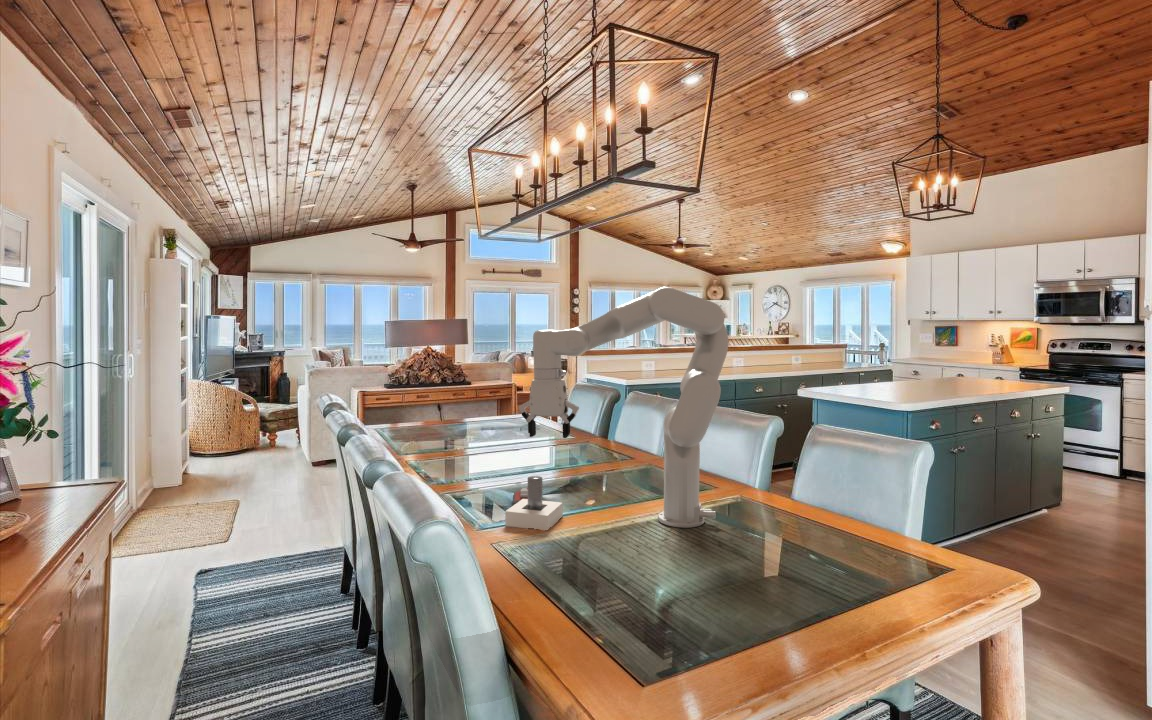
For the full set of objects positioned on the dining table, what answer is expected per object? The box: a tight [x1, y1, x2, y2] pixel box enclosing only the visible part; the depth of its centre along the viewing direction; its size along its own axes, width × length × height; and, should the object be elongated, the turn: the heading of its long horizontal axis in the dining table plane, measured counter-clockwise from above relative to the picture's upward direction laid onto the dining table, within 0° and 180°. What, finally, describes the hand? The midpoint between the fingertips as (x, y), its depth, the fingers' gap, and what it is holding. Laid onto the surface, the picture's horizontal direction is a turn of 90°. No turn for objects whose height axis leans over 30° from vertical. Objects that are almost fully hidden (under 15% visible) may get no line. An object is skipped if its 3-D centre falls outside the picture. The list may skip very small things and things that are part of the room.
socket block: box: [504, 499, 564, 531], centre depth 163 cm, size 12×12×4 cm
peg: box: [527, 475, 543, 511], centre depth 163 cm, size 4×4×12 cm
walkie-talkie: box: [512, 487, 528, 506], centre depth 182 cm, size 9×4×20 cm
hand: (549, 436), depth 165 cm, fingers open, 9 cm apart
